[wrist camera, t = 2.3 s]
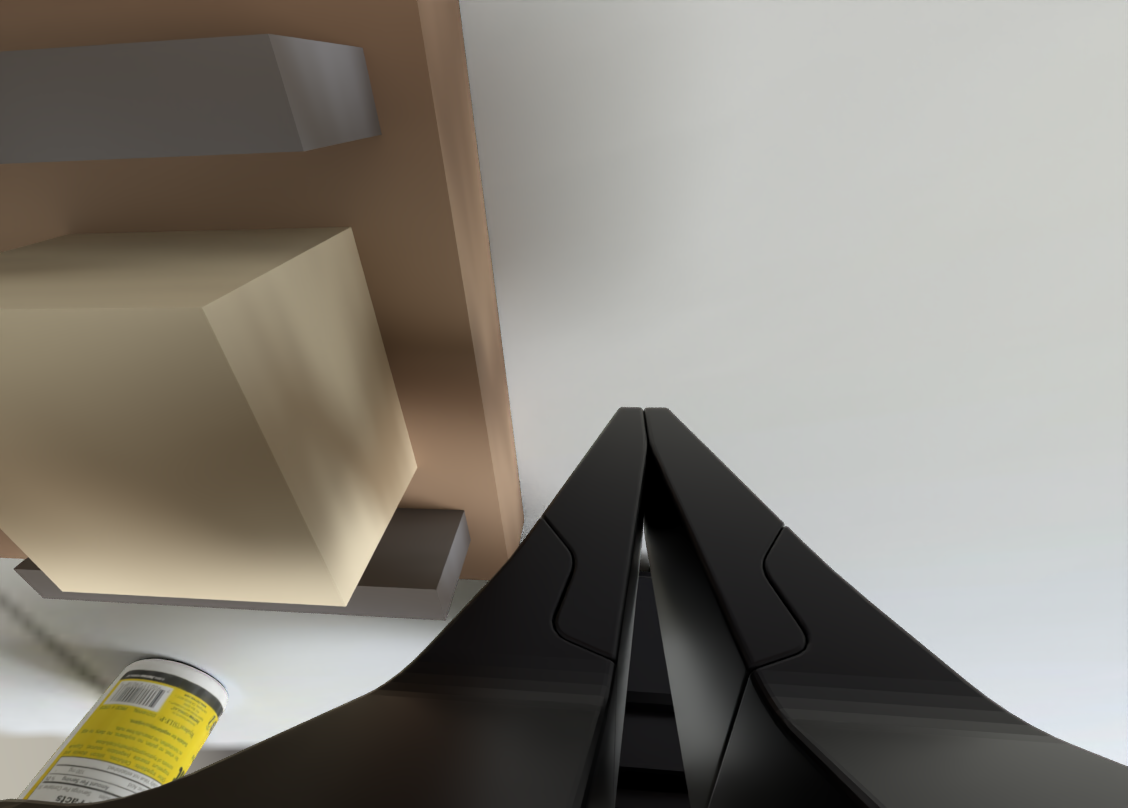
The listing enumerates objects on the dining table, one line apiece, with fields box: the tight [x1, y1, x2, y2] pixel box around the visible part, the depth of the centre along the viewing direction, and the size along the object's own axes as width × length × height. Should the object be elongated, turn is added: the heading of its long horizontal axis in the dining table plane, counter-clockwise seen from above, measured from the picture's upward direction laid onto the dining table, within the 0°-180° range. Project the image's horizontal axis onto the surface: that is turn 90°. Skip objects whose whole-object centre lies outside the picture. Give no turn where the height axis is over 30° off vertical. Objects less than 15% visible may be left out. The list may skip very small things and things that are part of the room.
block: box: [0, 227, 417, 607], centre depth 9 cm, size 6×6×4 cm
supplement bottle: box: [17, 659, 228, 803], centre depth 22 cm, size 5×5×10 cm
